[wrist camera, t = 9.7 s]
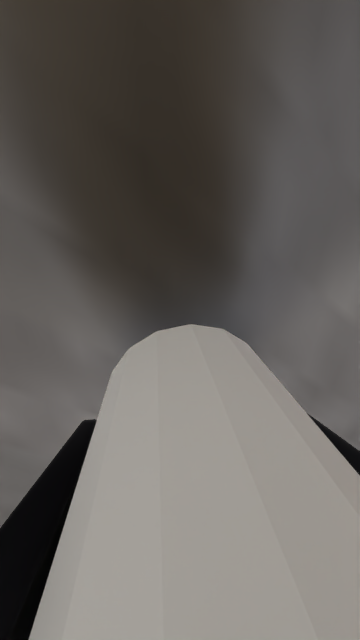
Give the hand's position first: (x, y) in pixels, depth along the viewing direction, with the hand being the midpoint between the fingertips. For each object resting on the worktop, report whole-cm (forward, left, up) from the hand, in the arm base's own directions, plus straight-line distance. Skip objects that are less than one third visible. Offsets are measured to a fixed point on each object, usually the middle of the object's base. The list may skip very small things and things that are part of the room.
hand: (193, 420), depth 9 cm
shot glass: (0, 0, -2) cm, 2 cm away
